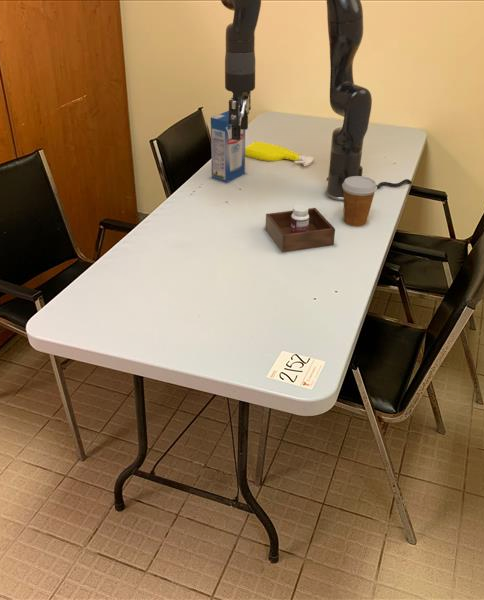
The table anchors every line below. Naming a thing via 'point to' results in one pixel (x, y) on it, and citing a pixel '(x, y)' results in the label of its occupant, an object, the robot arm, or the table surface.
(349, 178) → the disposable coffee cup
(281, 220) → the wooden box
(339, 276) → the table surface
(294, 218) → the pill bottle
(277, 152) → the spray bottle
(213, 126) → the milk carton
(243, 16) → the robot arm
